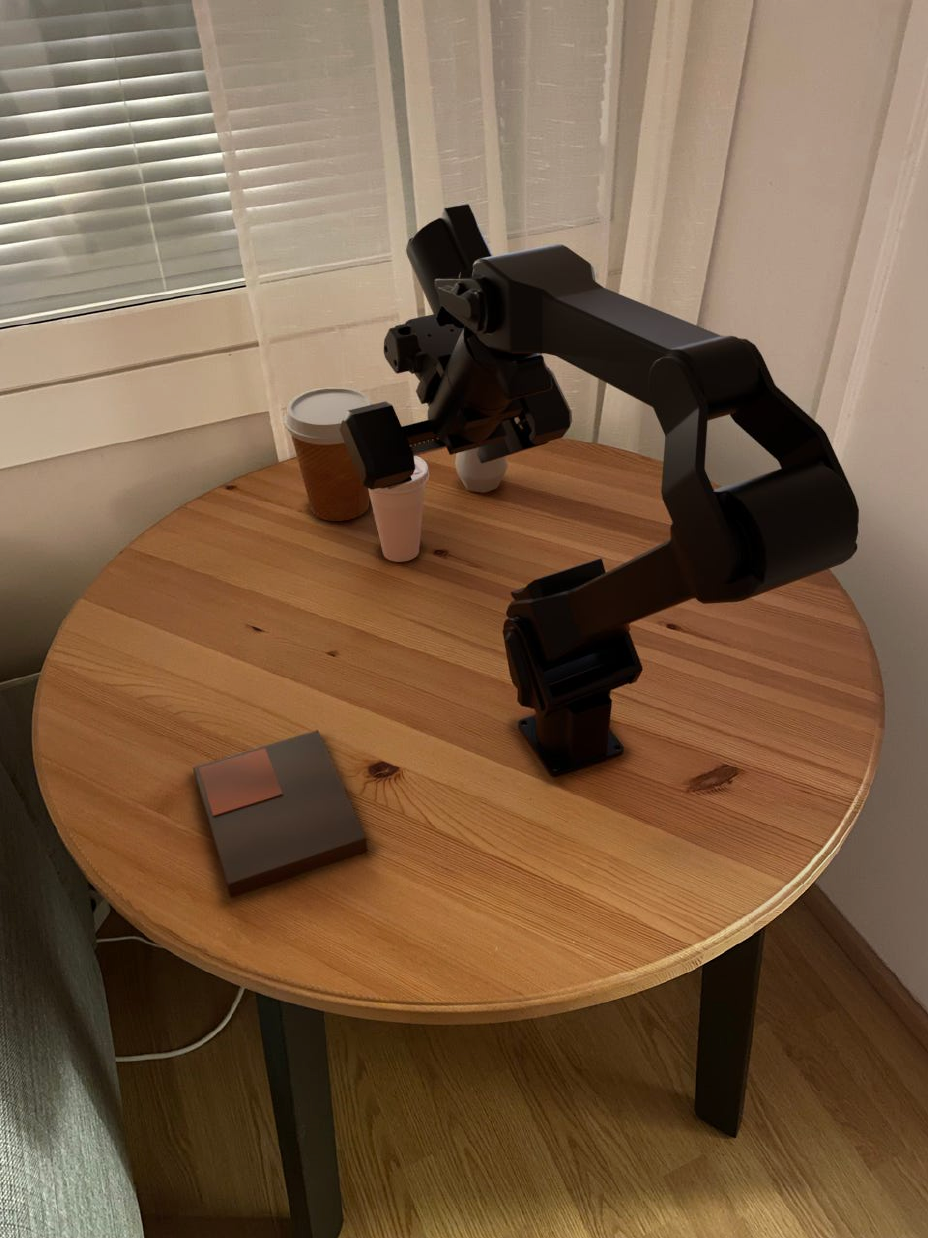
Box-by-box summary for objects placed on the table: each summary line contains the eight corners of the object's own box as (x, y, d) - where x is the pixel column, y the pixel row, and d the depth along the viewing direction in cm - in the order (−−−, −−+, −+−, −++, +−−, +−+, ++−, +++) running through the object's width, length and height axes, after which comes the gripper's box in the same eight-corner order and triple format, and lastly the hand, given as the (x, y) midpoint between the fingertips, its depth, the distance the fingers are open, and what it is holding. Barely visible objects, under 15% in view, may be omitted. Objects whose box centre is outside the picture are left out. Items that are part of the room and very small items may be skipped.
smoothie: (360, 543, 104) (348, 420, 95) (417, 528, 106) (411, 406, 97) (383, 575, 99) (373, 449, 90) (442, 559, 101) (438, 434, 93)
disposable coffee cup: (289, 492, 112) (275, 392, 105) (372, 477, 114) (364, 379, 107) (304, 536, 105) (290, 433, 97) (393, 520, 107) (386, 418, 100)
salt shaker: (509, 471, 115) (510, 364, 107) (505, 497, 110) (507, 387, 102) (458, 469, 115) (456, 362, 107) (452, 495, 111) (450, 386, 103)
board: (367, 851, 72) (366, 837, 71) (230, 898, 69) (226, 883, 68) (319, 742, 81) (317, 728, 80) (196, 780, 78) (192, 765, 77)
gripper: (547, 264, 80) (491, 371, 94) (328, 308, 73) (303, 416, 87) (605, 384, 78) (539, 475, 92) (385, 440, 71) (350, 529, 85)
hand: (435, 470), depth 89 cm, fingers open, 9 cm apart
